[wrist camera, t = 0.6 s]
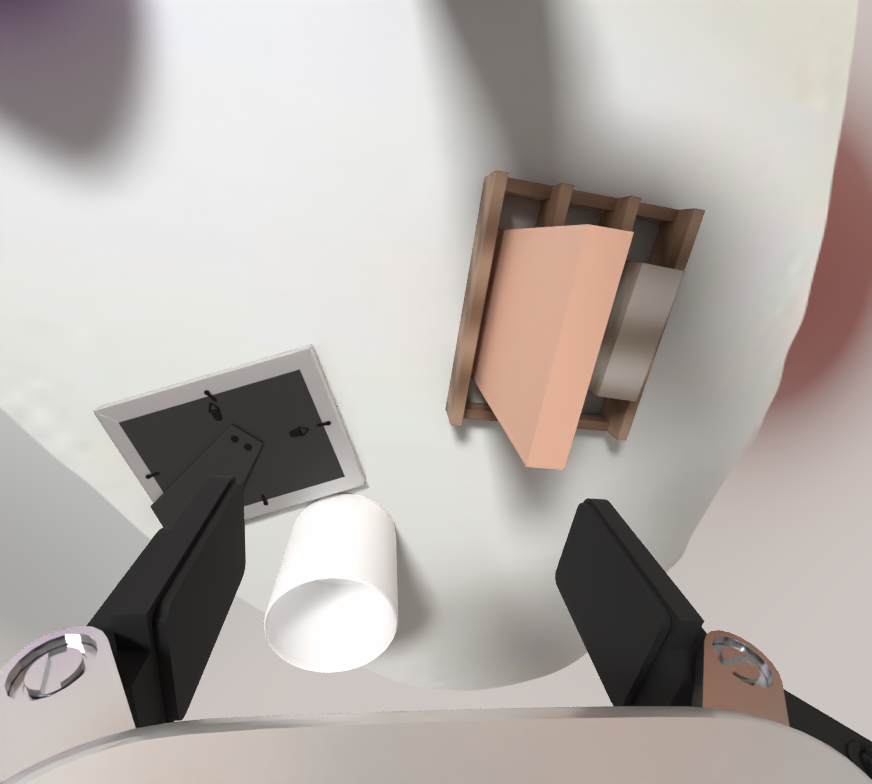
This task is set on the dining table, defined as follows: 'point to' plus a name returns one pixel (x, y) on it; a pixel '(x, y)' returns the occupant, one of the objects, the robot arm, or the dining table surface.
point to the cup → (336, 586)
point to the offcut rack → (555, 202)
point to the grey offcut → (634, 329)
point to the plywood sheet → (546, 331)
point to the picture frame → (238, 436)
